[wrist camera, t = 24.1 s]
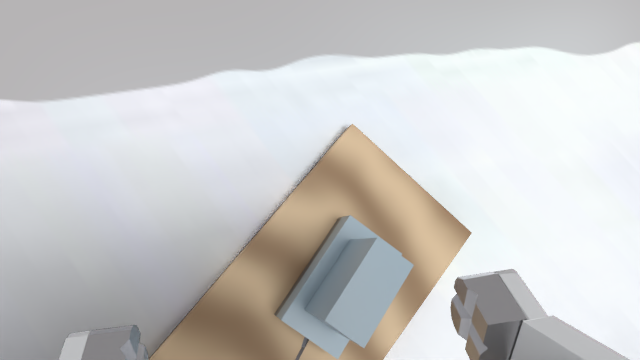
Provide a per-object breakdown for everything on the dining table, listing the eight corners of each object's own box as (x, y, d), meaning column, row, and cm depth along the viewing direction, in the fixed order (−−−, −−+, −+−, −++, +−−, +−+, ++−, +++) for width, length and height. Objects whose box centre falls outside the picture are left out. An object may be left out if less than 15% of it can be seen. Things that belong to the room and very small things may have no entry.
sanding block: (326, 350, 37) (363, 379, 29) (274, 314, 36) (297, 333, 28) (387, 253, 39) (437, 254, 31) (338, 217, 38) (377, 209, 30)
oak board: (274, 499, 36) (277, 510, 34) (128, 383, 34) (125, 389, 33) (462, 233, 43) (471, 232, 41) (347, 128, 41) (352, 123, 40)
